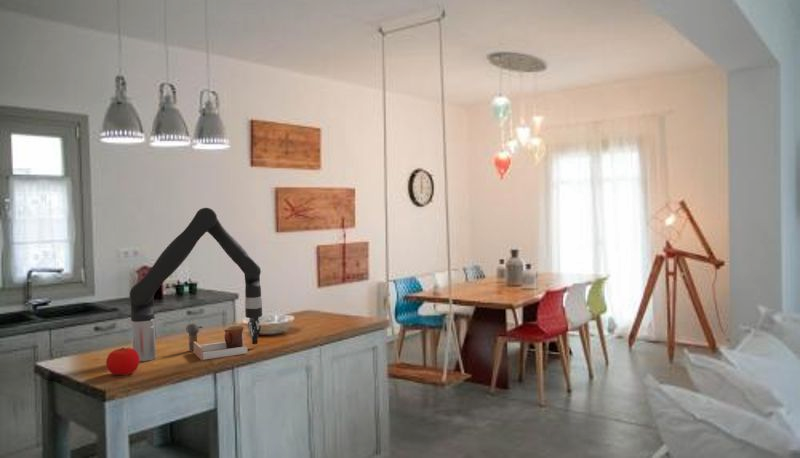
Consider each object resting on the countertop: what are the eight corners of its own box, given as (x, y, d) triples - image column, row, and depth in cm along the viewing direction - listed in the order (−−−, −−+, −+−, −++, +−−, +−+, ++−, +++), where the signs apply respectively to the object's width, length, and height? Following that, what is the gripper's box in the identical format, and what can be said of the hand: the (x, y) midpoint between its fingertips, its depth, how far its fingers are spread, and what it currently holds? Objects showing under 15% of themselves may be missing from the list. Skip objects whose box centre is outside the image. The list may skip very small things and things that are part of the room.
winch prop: (188, 352, 268) (187, 325, 267) (186, 350, 272) (185, 323, 271) (204, 350, 271) (203, 323, 271) (202, 348, 275) (201, 321, 275)
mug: (230, 347, 275) (229, 325, 274) (247, 348, 273) (247, 326, 273) (217, 354, 263) (216, 331, 263) (235, 354, 261) (234, 331, 261)
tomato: (145, 369, 240) (144, 344, 240) (129, 378, 228) (128, 351, 228) (118, 370, 241) (117, 344, 240) (101, 378, 229) (99, 351, 228)
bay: (201, 360, 254) (200, 348, 253) (193, 352, 267) (193, 341, 267) (247, 353, 264) (247, 342, 263) (238, 346, 277) (238, 335, 277)
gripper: (241, 305, 276) (242, 342, 277) (249, 309, 265) (250, 347, 266) (257, 303, 280) (258, 340, 281) (265, 307, 269) (267, 345, 269)
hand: (254, 343), depth 273 cm, fingers closed
